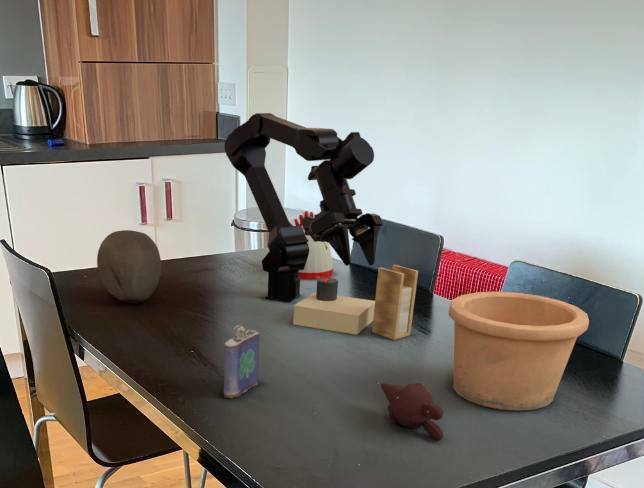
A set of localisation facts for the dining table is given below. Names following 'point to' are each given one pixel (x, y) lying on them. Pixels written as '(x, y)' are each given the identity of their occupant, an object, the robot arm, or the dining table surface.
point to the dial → (327, 289)
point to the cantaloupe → (129, 265)
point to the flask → (241, 362)
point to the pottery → (512, 347)
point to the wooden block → (334, 314)
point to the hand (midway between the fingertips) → (360, 264)
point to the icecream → (413, 407)
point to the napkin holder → (394, 302)
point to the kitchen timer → (316, 257)
